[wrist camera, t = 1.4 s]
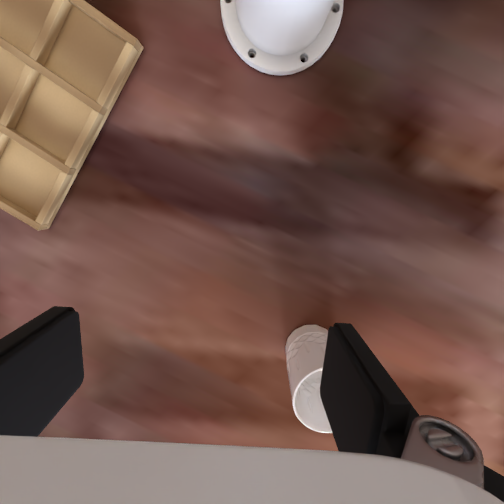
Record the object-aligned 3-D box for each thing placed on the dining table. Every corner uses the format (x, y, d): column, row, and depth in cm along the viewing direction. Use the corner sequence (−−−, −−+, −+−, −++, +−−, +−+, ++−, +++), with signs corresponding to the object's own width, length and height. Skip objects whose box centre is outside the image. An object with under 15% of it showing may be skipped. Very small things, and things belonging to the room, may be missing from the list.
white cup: (305, 308, 36) (326, 351, 26) (350, 340, 37) (386, 393, 28) (269, 352, 38) (276, 408, 28) (313, 381, 39) (336, 445, 29)
